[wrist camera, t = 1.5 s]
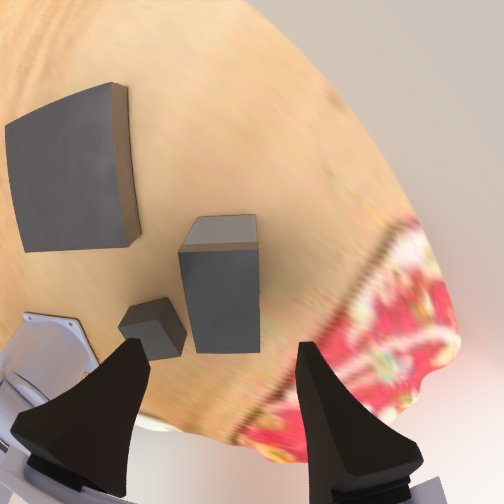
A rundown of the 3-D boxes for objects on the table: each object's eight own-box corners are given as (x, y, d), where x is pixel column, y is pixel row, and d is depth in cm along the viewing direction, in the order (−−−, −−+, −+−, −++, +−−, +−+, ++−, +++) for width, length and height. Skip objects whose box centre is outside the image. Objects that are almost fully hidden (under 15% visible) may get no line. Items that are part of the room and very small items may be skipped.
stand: (40, 241, 19) (25, 252, 17) (23, 123, 15) (4, 125, 12) (141, 233, 19) (128, 247, 17) (127, 86, 15) (111, 81, 12)
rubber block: (150, 339, 24) (141, 361, 21) (129, 306, 22) (117, 327, 19) (187, 333, 23) (180, 356, 20) (167, 297, 22) (157, 319, 19)
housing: (207, 301, 22) (196, 353, 16) (197, 217, 19) (177, 252, 13) (257, 299, 22) (260, 352, 16) (255, 214, 19) (258, 249, 13)
